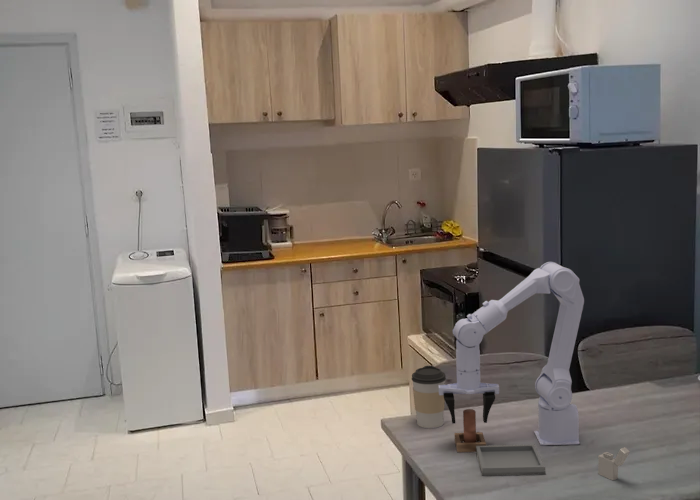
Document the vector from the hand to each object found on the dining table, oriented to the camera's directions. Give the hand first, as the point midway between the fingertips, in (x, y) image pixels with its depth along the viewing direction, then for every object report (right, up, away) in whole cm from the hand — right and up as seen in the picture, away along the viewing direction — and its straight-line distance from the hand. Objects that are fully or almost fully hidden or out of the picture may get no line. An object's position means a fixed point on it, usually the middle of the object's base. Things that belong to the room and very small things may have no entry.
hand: (469, 421), depth 180 cm
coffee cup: (-8, -4, +16) cm, 19 cm away
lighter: (+29, -8, -19) cm, 35 cm away
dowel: (0, -6, +1) cm, 6 cm away
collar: (0, -6, +1) cm, 6 cm away
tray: (+8, -8, -9) cm, 14 cm away
